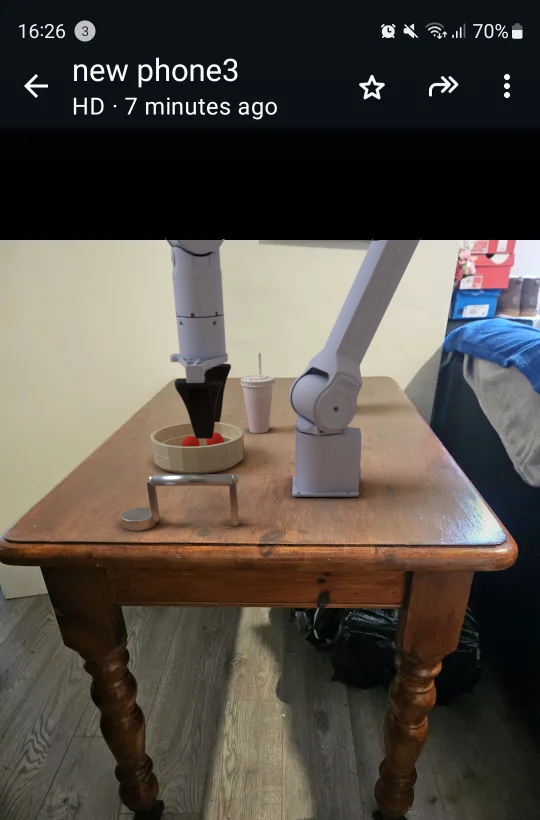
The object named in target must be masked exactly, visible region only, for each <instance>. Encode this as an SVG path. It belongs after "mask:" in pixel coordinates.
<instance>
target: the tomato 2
mask: <svg viewBox="0 0 540 820" xmlns="http://www.w3.org/2000/svg"><path fill="white" fill-rule="evenodd" d="M206 443H207V446H208V445H215V444H220V443H224V439H223V437H222V436H221V435H220V434H219V433H216V432H214V433H213V437H212V438H211V439H206Z"/></svg>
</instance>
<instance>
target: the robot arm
mask: <svg viewBox="0 0 540 820" xmlns="http://www.w3.org/2000/svg"><path fill="white" fill-rule="evenodd" d="M224 241H225V239H222V240H166V242H167V244H168V245H169V247H170V252H171V255H170V256H171V257H170V258H171V264H172V272H171V276H172V277H171V278H172V286H173V289H172V290H173V297H174V309H175V318H176V328H177V330H176V331H177V340H178V351H179V353H172V354H171V355H170V356H169V359H170V363H178V364H180V365H181V367H183V368H184V369H185V378H176V379H175V381H174V389H175V390H176V392H177V393H178V395H179V397H180V398H181V400H182V402H183V404H184V406H185V408H186V411H187V414H188V417H189V422H191V425H192V428H193V431H194V434H195V437H196V438H197V439H211V438H212V437H213V433H214V426H215V422H221V419H222V413H223V403H224V395H225V388H226V383H227V380H228V377H229V374H230V372H231V369H232V364H230V363H227V362H228V361H229V356H228V355H229V354H228V353H227V345H226V327H225V310H224V309H225V308H224V291H223V290H224V289H223V273H222V269H221V255H220V254H221V250H220V249H221V248H220V247H222V245H223V243H224ZM420 241H421V239H420V240H379V241H372V240H371V242H370V245H369V247H368V249H367V251H366V254H365V256H364V258H363V259H362V262H361V265H360V267H359V268H358V271H357V274H356V276H355V278H354V281H353V282H352V284H351V286H350V288H349V291H348V293H347V295H346V298H345V300H344V302H343V305H342V306H341V309H340V311H339V313H338V316H337V317H336V320H335V322H334V325H333V326H332V329H331V331H330V333H329V335H328V337H327V340H326V342H325V344H324V347H323V348H322V349H321V350H320V351H318V353H317V354H315V355H314V356H313V357H312V358H311V359H310V360H309V362H308V363H307V366H306V368H305V369H304V371H303V372H302V373H301V374H300V375H299V376H297V378H296V379H295V380H294V381H293V382H292V384H291V387H290V390H289V394H288V395H289V396H288V398H289V404H290V407H291V408H292V410H293V412H294V413H295V414H296V415H297V416H296V421H295V440H294V441H295V442H294V443H295V444H294V445H295V446H294V447H295V448H294V449H295V455H294V457H295V459H294V461H295V462H294V463H295V465H294V468H295V469H294V472H295V474H293V475H292V488H291V489H292V490H291V495H292V497H293V498H294V497H295V498H310V497H311V498H318V497H319V498H325V497H326V498H332V497H333V498H355V497H359V495H360V492H359V491H360V489H359V488H360V479H361V473H362V471H361V469H362V468H361V459H362V458H361V457H362V430H361V428H360V427H352V426H349V425H350V424H351V423H352V421H353V419H354V417H355V415H356V412H357V401H358V395H359V393H360V392H361V389H362V386H363V379H362V378H363V377H362V374H361V364H362V362H363V360H364V357H365V356H366V353H367V351H368V349H369V347H370V346H371V343H372V341H373V340H374V337H375V334H376V333H377V331H378V328H379V327H380V325H381V322H382V320H383V318H384V316H385V314H386V312H387V310H388V308H389V305H390V304H391V302H392V299H393V297H394V295H395V293H396V291H397V289H398V286H399V284H400V283H401V280H402V278H403V276H404V275H405V272H406V270H407V268H408V266H409V264H410V262H411V260H412V258H413V256H414V253H415V251H416V249H417V247H418V245H419V243H420Z"/></svg>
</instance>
